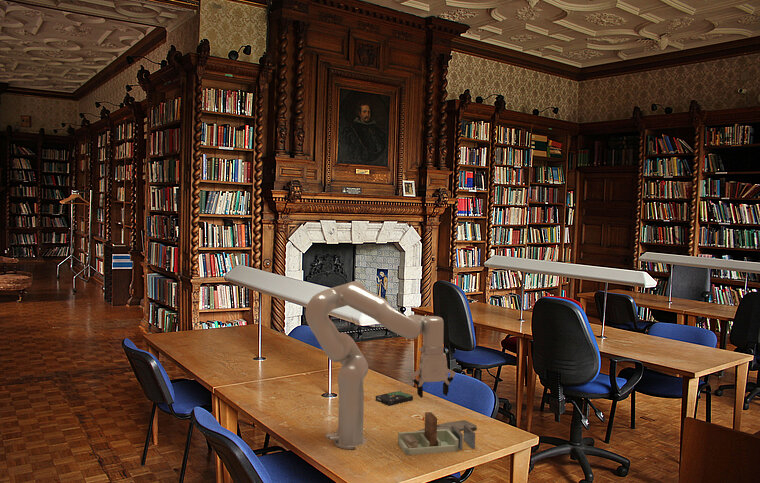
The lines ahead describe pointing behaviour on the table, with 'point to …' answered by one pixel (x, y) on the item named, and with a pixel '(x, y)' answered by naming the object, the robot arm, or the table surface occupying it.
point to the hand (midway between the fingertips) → (432, 395)
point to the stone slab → (457, 424)
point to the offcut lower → (409, 445)
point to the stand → (468, 436)
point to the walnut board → (431, 428)
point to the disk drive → (394, 398)
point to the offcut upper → (410, 440)
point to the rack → (444, 442)
